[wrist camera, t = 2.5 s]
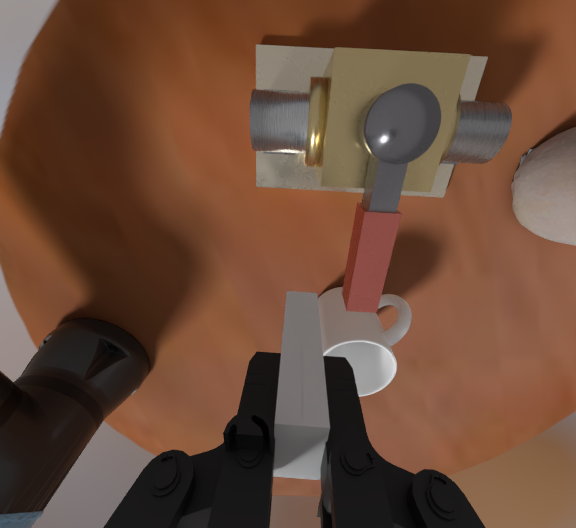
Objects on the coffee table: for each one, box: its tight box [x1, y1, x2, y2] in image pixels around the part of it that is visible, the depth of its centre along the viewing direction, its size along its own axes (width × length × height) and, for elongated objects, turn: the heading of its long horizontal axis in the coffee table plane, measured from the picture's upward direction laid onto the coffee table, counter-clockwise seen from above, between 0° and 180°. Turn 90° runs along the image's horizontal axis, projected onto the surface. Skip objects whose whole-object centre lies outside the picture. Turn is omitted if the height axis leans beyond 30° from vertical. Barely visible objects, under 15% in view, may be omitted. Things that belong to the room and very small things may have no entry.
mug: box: [318, 287, 412, 396], centre depth 31 cm, size 12×8×10 cm
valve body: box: [250, 44, 512, 197], centre depth 22 cm, size 20×12×10 cm, turn 87°
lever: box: [342, 83, 441, 313], centre depth 18 cm, size 15×4×3 cm, turn 177°
